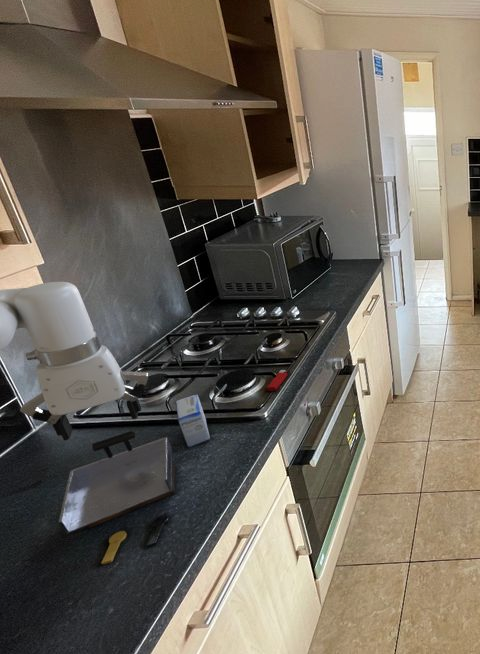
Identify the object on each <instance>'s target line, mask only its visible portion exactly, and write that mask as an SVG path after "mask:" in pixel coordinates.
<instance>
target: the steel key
mask: <svg viewBox="0 0 480 654" xmlns="http://www.w3.org/2000/svg"><path fill="white" fill-rule="evenodd" d="M169 521H170V517H169V515H167V514H163V515H160V516H158V517H157V518H156V519H154V520H153V522H152V527H153V528H152V531H151V533H150V535H149V538H148V540H147V543H146V547H152V546H155V545H157V544H158V541H159V539H160V536H161V533H162V531H163V529H164V527H165V526H166V525H167V524H168V522H169Z"/></svg>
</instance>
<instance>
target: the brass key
mask: <svg viewBox="0 0 480 654" xmlns="http://www.w3.org/2000/svg"><path fill="white" fill-rule="evenodd" d="M127 535H128V534H127V532H126V531H125V530H120V531H117V532H115V533H113V534H112V535H111V536H110V537H109V538H108V543H109V545H108V548H107V550H106V551H105V554H104V556H103V558H102V561H101V562H100V563H101V565H102V566H103V565H106V564H109V563H112V562H113V561H114V559H115V556H116V554H117V552H118V550H119V547H120V545H121V543H122V542H123V541H125V539H126V538H127Z"/></svg>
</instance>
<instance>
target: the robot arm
mask: <svg viewBox="0 0 480 654" xmlns="http://www.w3.org/2000/svg"><path fill="white" fill-rule="evenodd" d="M19 329H24V330H26V331H27V333H28V335H29V338H30V340H31V342H32V345H33V346H34V348H35V349H34V350H32V351H28V352H26V353H25V358H26V359H27V361H32V360H37V361H38V362H39V363H38V365H37V366H36V373H37V380H38V383H39V387H40V391H41V393H39V394H37V395H36V396H35V397H32V398H31V399H30V400H28V401H27V402H25V403H23V404H22V405H21V407H20V409H19V412H20V413H22V414H24V415H26V416H28V417H32V419H33V420H36V421H40V422H44V423H46V424H47V425H50V426H52V428H53V430H54V431H55V433H56V436H58V437H59V436H61V438H62V439H63V441H67V440H69V439H70V438H71V436H72V434H73V433H72V432H73V427H72V424H71V423H70V421H69V419H68V416H67V415H68V414H72V413H76V412H80V411H83V410H87V409H91V408H94V407H97V406H102V405H105V404H108V403H112V402H115V401H117V400H119V399H122V400H125V401H126V407H127V409H128V412H129V414H130V417H131V420H136V419H138V416H139V412H142V406H141V403H140V400H139V398H138V397H139V396H140V395H141V394H142V392H143V391H144V390H145V388H146V385H147V382H148V380H149V373H148V372H141V371H127V370H122V368H121V367H120V365H119V363H118V362H117V359H116V358H115V356H114V355H113V354H112V352H111V351H110V350H109V349H108V347H107V346H106V345H101V343H100V340H99V338H98V336H97V333H96V331H95V328H94V326H93V323H92V321H91V317H90V315H89V313H88V310H87V308H86V305H85V303H84V301H83V298H82V296H81V293H80V291H79V289H78V287H77V286H76V285H75V284H73V283H72V282H67V281H49V282H44V283H43V282H42V283H39V284H35V285H34V284H33V285H31V286H28V287H20V288H19V287H18V288H5V289H0V351H2V350H3V349H5V348H6V347H7V346H9V344H10V343H11V342H12V340H13V339H14V336H15V333H16V331H17V330H19ZM127 381H136V382H137V383H136V385H135V386H134V387H132V386H129V385H127ZM43 403H45V405H46V407H47V409H45V408H40V407H39V406H40V405H42V404H43Z"/></svg>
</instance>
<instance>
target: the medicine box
mask: <svg viewBox="0 0 480 654" xmlns="http://www.w3.org/2000/svg"><path fill="white" fill-rule="evenodd" d="M175 407H176V416H177V421H178V424H179V427H180V429H181V433H182V434H183V438H184V440H185V443H186V446H187V447H188V448H191V447H193V446H196V445H198V444H201V443H203V442H206V441H208V440H210V439H211V436H210V432H209V428H208V423H207V418H206V416H205V413H204V408H203V406H202V403H201V400H200V397H199V395H198V394H194V395H190V396H187V397H183V398H181V399H178V400H176V401H175Z"/></svg>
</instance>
